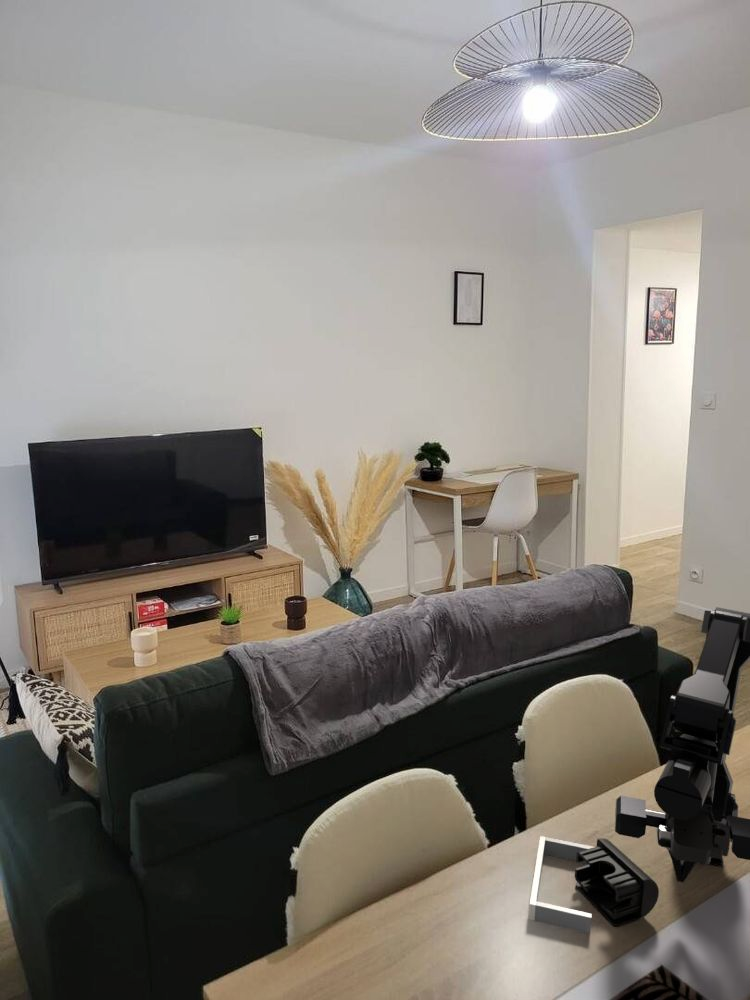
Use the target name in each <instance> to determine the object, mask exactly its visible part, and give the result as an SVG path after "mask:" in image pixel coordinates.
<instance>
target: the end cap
mask: <svg viewBox="0 0 750 1000" xmlns="http://www.w3.org/2000/svg"><path fill="white" fill-rule="evenodd" d="M593 847H594V848H590V849H587V850H584V851H580V852H577V855H576V861H575V862H576V863H582V862H581V861H585V862H586V863H585V864H586V865H583V866H579V867H575V868H574V870H575V871H574V880H575V881H576V882H575V889H576V890H577V891H578V892H579V893H580V895H582V897H584V899H585V900H587V902H589V904H590V905H592V907H593V908H594V909H596V912H598V913H599V914H600V915H601V916H602V917H603V918H604V919H605V920H606V922H607V923H608V924H609V925H610V926H611V927H613V928H617V929H618V928H620V927H623V926H625V925H626V926H627V925H629V924H633V923H635V922H637V921H639V920H641V919H642V918H644V917H646V916H647V915H648V914H649V913H651V911H652V910H653V909H654V907H655V906H656V904H657V902H658V899H659V894H660V891H659V886H658V884H657V882H656V881H655V880H654V879H652V878H651V877H650V876H649V874H647V873H646V872H644V870H643V869H641V868H640V867H639V866H638V865H637V864H636V863H635V862H634V861H632V860H631V859H630V858H629V857H628V856H627V855H626V854H625V853H624V852H623V851H621V850H620V849H619V847H617V846H616V845H615V844H614V843H613V842H612V841H610V840H609V839H607V838H603V837H602V838H597V840H596V846H593Z"/></svg>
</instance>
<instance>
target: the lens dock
mask: <svg viewBox="0 0 750 1000" xmlns="http://www.w3.org/2000/svg"><path fill="white" fill-rule="evenodd" d="M594 847H595V846H593V845H592V846H591V845H587V844H582V843H575V842H572V841H566V840H561V839H556V838H552V837H547V836H542V835H540V837H539V842H538V849H537V854H536V861H535V868H534V875H533V882H532V887H531V893H530V900H529V908H528V909H529V911H528V920H530V921H535V922H538V923H543V924H547V925H552V926H556V927H560V928H564V929H567V930H569V929H570V930H573V931H577V932H581V933H586V934H591V928H592V927H591V926H592V925H591V924H592V918H593V917H592V913H589V912H585V911H581V910H576V909H572V908H567V907H564V906H558V905H554V904H551V903H546V902H541V901H538V898H539V897H538V896H539V891H540V885H541V877H542V871H543V870H542V869H543V863H544V856H552V857H556V858H561V859H566V860H570V861H575V862H577V861H576V855H577V852H580V851H584V850H587V849H590V848H594ZM580 863H585V864H587V863H586V862H585V861H581V862H580Z"/></svg>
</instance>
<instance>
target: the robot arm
mask: <svg viewBox="0 0 750 1000" xmlns="http://www.w3.org/2000/svg"><path fill="white" fill-rule="evenodd" d="M702 618H703V620H702V623H701V629H700V633H701V634H703V635H706V636H705V641H704V645H703V648H702V651H701V653H700V656H699V658H698V663H697V665H696V669H695V671H694V674H693V675H691V676H689V677H686V678H684V679H683V680H681V682H680V685H679V687H678V689H677V692H676V694H672V695H671V696H670V699H669V701H668V702H669V703H668V707H667V712H666V715H665V719H664V724H663V730H662V732H661V737H660V742H659V748H662V749H666V750H669V751H671V752H670V758H669V760H668V761H667V763H666V765H665V766H664V768H663V770H662V772H661V774H660V776H659V778H658V780H657V782H656V784H655V786H654V788H653V789H654V790H653V796H654V801H656V804H657V806H658V807H659V808H660V810H662V811H663V812H658V811H654V810H653V811H652V810H648V809H647V807H646V804H647V803H646V800H645V799H641V798H636V797H631V796H624V795H620V796H618V798H616V800H615V809H614V810H615V811H614V813H615V814H614V821H615V822H614V832H616V833H617V834H618V835H620V836H625V837H630V838H635V839H640V838H642V837H643V836H645V835H646V830H647V829H646V828H647V827H653V828H656V839H657V840H656V841H657V844H658V845H659V847H661V848H664V849H666V850H667V852H668V853H669V856H670V858H671V862H672V866H673V870H674V871H673V872H674V874H675V878H676V882H679V883H685V881H686V879H687V878H688V876H689V874H690V873H691V871H692V870H693V869H694V867H695V866H696V864H698V865H701V866H707V865H709V864H710V865H714V866H719V867H720V866H721V867H722V866H724V858H723V857H728V856H729V851H730V849H731V852H732V853H733V855H735V857H736V858H737V859H742V860H748V861H750V818H746V817H741V816H739V805H738V803H737V800H736V794H735V793H732V790H733V786H734V779H733V778H732V775H731V773H730V771H729V767H728V765H727V763H726V760H727V755H728V756H730V753H731V749H732V744H733V739H734V734H735V730H736V724H737V720H736V717H735V716H734V715H735V713H734V712H735V707H736V703H737V702H736V701H737V696H738V690H739V685H740V680H741V679H740V677H741V672H742V669H743V668H744V667H745V666H746V665H747V664H748V663H749V662H750V613H748V612H743V611H739V610H733V609H727V608H724V607H723V608H722V607H715V609H714V610H713V609H712V610H706V609H705V610H704V612H703V617H702ZM672 728H673V730H674V731H675V732H677V733H681V735H680V736H678V735H676V734H670V733H671V730H672ZM730 844H731V848H730Z"/></svg>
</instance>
